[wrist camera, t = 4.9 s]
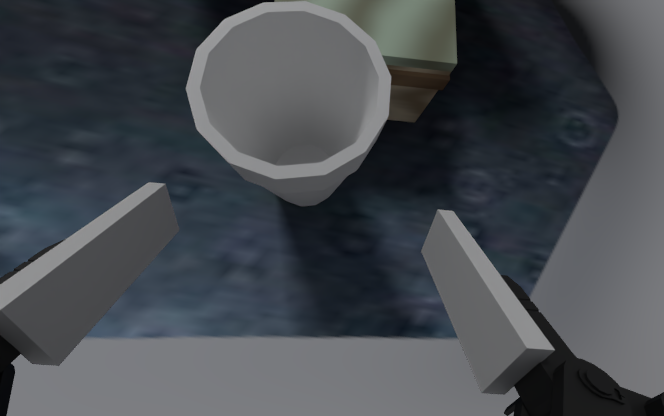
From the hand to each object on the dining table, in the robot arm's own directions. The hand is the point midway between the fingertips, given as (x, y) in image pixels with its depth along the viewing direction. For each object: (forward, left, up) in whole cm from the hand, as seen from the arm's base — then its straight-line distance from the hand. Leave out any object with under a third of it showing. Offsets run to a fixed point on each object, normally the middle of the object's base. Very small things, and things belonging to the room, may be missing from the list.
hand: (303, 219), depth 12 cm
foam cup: (-1, +6, -11) cm, 13 cm away
